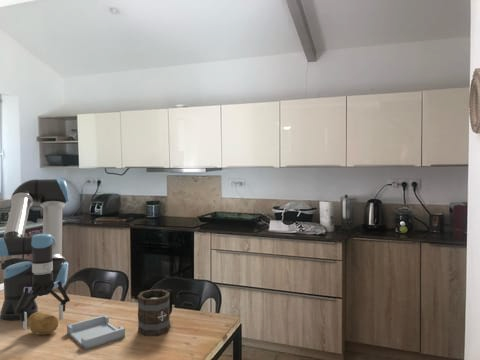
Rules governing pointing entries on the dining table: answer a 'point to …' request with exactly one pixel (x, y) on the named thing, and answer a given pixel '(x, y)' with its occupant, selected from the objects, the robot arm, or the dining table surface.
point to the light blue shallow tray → (94, 332)
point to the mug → (154, 312)
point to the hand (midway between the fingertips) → (43, 324)
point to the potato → (42, 323)
